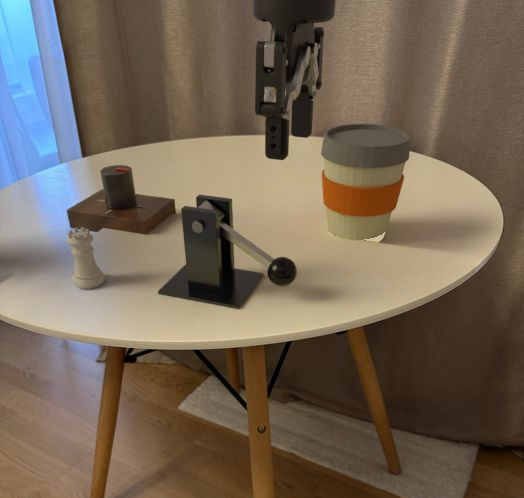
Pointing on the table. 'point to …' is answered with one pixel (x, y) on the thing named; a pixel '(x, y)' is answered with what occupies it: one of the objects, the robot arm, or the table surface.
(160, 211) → the wooden knob base
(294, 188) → the table surface
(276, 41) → the robot arm
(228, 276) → the black lever stand
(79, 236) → the rook chess piece
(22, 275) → the table surface
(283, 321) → the table surface
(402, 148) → the reusable coffee cup
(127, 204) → the knob
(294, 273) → the ball knob lever
